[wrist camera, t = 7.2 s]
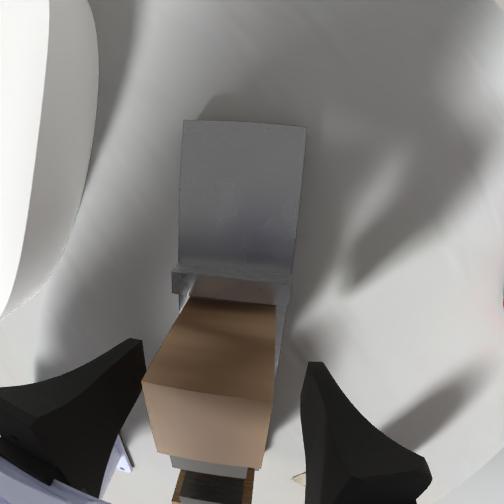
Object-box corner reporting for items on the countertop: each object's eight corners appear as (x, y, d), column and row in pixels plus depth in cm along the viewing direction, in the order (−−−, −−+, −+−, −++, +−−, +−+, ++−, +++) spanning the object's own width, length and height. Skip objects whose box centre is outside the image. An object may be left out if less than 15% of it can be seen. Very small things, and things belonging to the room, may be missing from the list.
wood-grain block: (192, 378, 16) (160, 464, 10) (189, 297, 14) (141, 381, 8) (265, 387, 15) (258, 479, 10) (275, 306, 14) (273, 400, 8)
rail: (195, 447, 20) (173, 526, 13) (193, 123, 13) (111, 96, 6) (259, 455, 20) (252, 538, 12) (303, 130, 13) (334, 101, 6)
